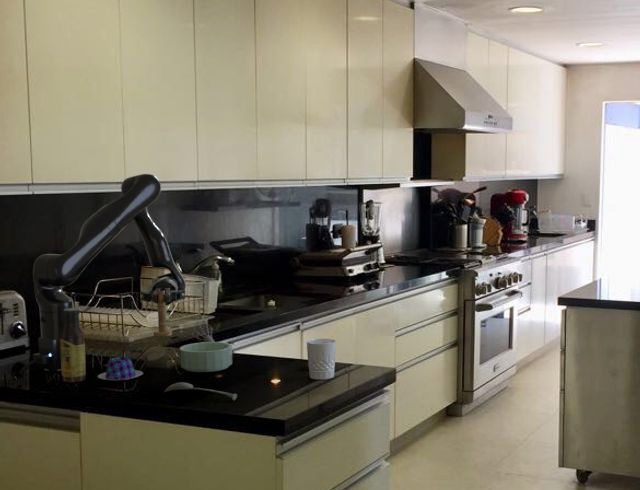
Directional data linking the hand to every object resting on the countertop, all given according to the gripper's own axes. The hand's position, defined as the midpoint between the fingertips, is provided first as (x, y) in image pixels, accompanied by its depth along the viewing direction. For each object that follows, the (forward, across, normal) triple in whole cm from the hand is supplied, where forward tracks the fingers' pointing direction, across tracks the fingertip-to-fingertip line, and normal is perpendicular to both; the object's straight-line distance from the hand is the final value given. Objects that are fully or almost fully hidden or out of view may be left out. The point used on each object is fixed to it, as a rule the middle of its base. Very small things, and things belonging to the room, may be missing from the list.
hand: (160, 299), depth 267 cm
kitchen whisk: (-29, +12, +20) cm, 37 cm away
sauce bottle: (+13, -23, +20) cm, 33 cm away
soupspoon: (+38, +12, +20) cm, 44 cm away
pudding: (+11, -11, +20) cm, 25 cm away
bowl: (+4, +12, +20) cm, 24 cm away
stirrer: (-3, 0, +11) cm, 11 cm away
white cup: (+24, +44, +20) cm, 54 cm away
